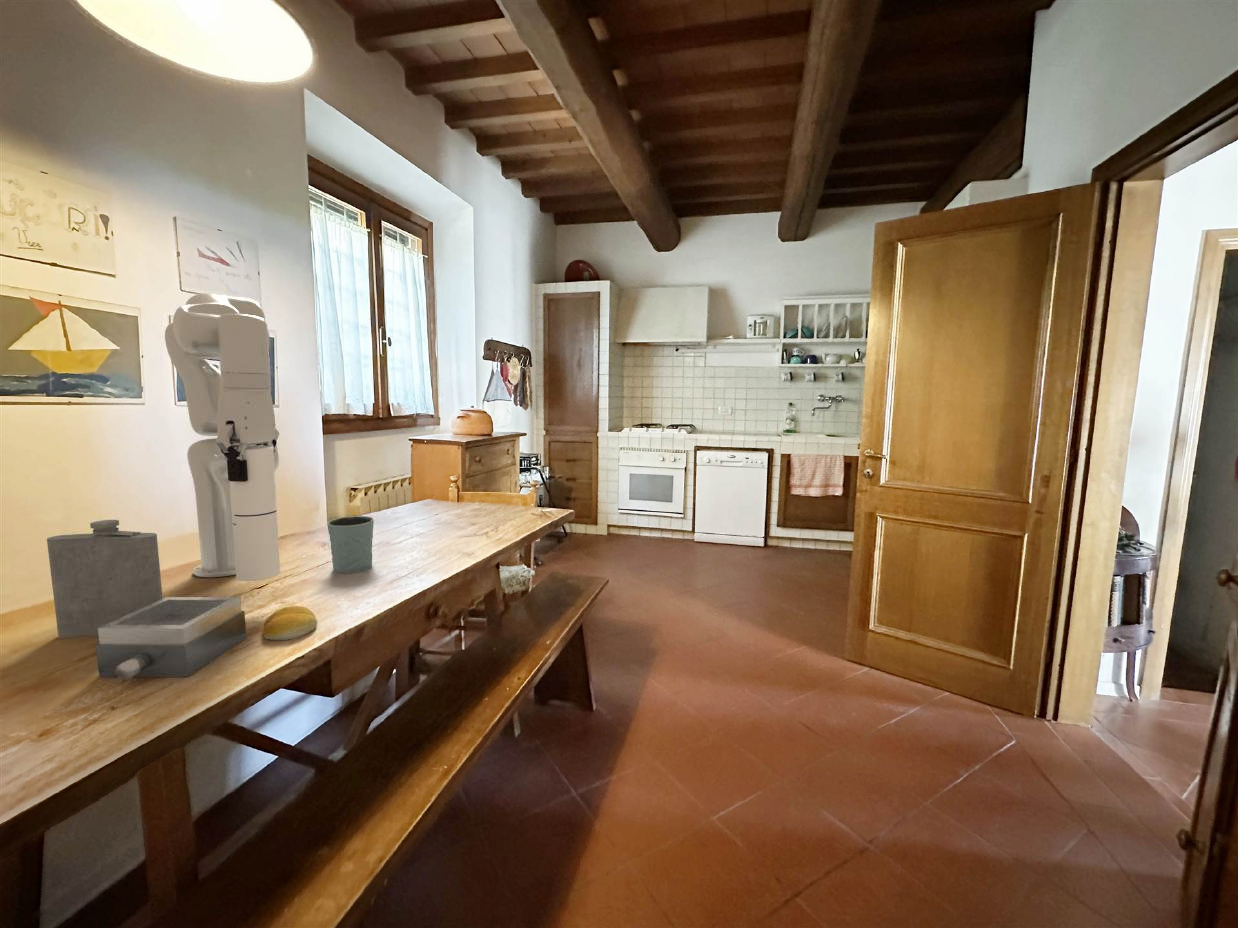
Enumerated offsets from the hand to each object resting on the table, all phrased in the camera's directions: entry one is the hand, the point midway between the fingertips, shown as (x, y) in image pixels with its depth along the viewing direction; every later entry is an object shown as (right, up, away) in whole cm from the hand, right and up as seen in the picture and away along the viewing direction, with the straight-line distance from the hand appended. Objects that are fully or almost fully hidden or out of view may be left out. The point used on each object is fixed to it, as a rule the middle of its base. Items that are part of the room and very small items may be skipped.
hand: (252, 476), depth 101 cm
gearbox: (-1, -29, -16) cm, 33 cm away
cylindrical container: (-1, -19, +3) cm, 20 cm away
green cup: (+4, -23, +30) cm, 38 cm away
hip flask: (-20, -28, -7) cm, 35 cm away
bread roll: (+10, -28, -5) cm, 30 cm away
